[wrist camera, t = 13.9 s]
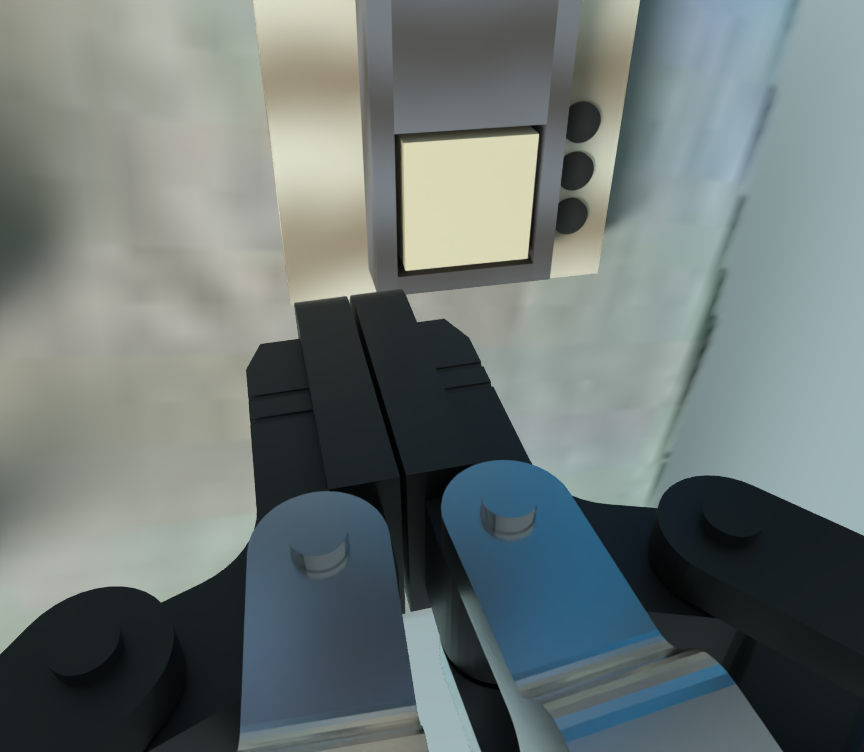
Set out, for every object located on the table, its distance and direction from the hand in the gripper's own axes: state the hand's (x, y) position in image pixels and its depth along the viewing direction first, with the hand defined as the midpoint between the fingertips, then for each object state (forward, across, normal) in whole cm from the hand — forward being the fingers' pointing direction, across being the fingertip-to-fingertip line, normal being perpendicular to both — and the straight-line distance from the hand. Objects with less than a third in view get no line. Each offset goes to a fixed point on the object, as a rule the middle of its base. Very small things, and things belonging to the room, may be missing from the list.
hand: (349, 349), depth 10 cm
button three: (+19, -7, +6) cm, 21 cm away
